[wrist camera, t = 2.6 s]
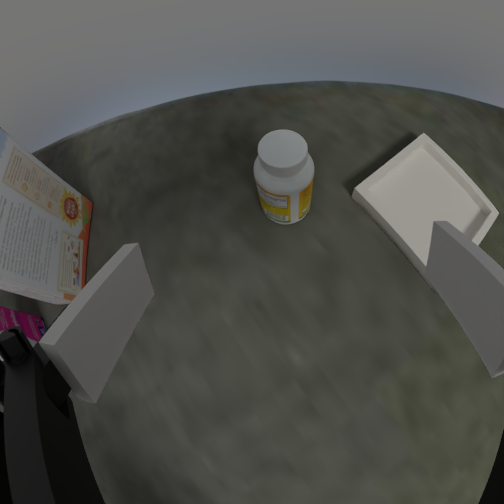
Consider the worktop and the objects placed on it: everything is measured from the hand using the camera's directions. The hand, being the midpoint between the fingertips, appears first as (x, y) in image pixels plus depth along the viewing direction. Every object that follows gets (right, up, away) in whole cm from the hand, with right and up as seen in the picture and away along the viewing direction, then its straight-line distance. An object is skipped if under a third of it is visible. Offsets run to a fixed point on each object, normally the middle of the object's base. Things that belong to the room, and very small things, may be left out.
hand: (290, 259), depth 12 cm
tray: (+19, +5, +16) cm, 25 cm away
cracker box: (-25, 0, +21) cm, 33 cm away
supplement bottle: (+2, +6, +19) cm, 20 cm away
